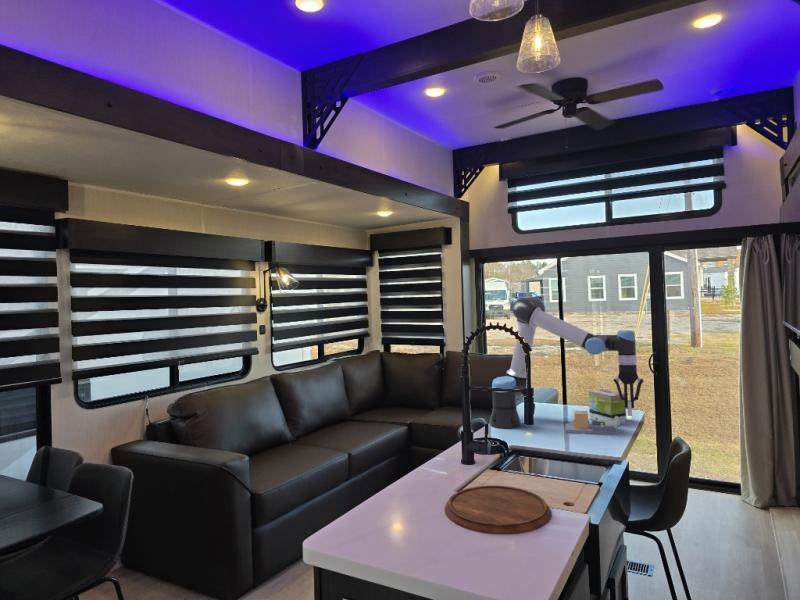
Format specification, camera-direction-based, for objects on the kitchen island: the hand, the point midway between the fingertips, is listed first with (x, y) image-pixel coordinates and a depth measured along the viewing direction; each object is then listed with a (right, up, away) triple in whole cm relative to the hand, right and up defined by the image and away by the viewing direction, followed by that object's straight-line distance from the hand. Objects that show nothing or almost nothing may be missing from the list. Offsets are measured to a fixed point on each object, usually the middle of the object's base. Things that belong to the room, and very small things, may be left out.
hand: (629, 415), depth 240 cm
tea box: (-2, -8, +22) cm, 23 cm away
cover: (-7, -5, +2) cm, 9 cm away
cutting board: (-76, -12, -80) cm, 111 cm away
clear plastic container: (-16, -9, +5) cm, 19 cm away
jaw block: (-20, -7, +7) cm, 22 cm away
